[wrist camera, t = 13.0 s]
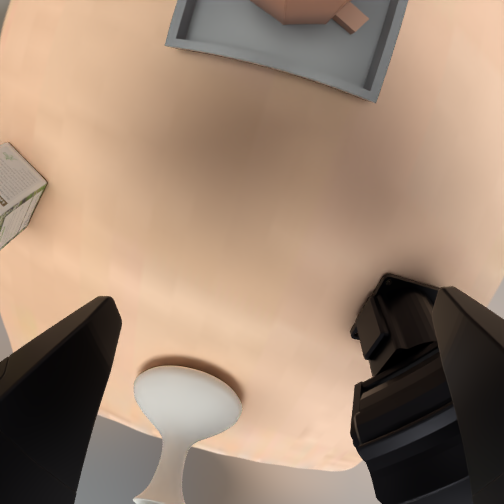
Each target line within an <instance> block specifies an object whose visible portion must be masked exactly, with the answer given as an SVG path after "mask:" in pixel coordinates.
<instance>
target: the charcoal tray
mask: <svg viewBox="0 0 504 504" xmlns="http://www.w3.org/2000/svg"><path fill="white" fill-rule="evenodd" d="M350 2H351V3H352V4H353V5H354V6H356V7H357V8H358V9H359V10H360V11H361V12H362V13H363V14H364V15H366V16H367V17H368V18H369V20H368V21H367V22H365V23H364V24H363V25H362V26H361V27H360V28H359V29H358V30H357V31H356V32H354V33H353V34H351V35H350V34H349V33H348V32H347V31H346V30H345V29H344V28H342V27H341V26H340V25H339V24H338V23H337V22H336V21H334V20H333V19H332V18H331V19H330V20H329V22H328V23H327V24H287V25H282V23H280V22H279V21H278V20H276V19H275V18H274V17H272V16H271V15H270V14H268V13H267V12H266V11H264V10H263V9H261V8H260V7H259V6H257V5H256V4H254V3H253V2H251V1H250V0H178V1H177V4H176V7H175V11H174V14H173V17H172V21H171V24H170V28H169V32H168V35H167V39H166V43H165V46H168V47H172V48H176V49H182V50H189V51H195V52H200V53H206V54H211V55H216V56H221V57H226V58H231V59H235V60H240V61H244V62H248V63H252V64H256V65H260V66H264V67H268V68H271V69H275V70H279V71H282V72H286V73H289V74H292V75H296V76H299V77H302V78H305V79H308V80H312V81H315V82H318V83H321V84H323V85H326V86H329V87H332V88H335V89H338V90H340V91H343V92H346V93H348V94H351V95H354V96H356V97H359V98H361V99H364V100H367V101H370V102H374V103H376V102H377V99H378V96H379V93H380V90H381V87H382V84H383V81H384V78H385V75H386V72H387V69H388V66H389V63H390V59H391V56H392V53H393V50H394V47H395V44H396V40H397V37H398V34H399V30H400V27H401V24H402V20H403V17H404V13H405V10H406V6H407V3H408V0H352V1H350Z"/></svg>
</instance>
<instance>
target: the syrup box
mask: <svg viewBox="0 0 504 504" xmlns="http://www.w3.org/2000/svg"><path fill="white" fill-rule="evenodd" d="M46 184H47V182H46V181H45V179H44V178H43V177H42V176H41V175H40V174H39V173H38V172H37V171H36V170H35V169H34V168H33V167H32V166H31V165H30V164H29V163H28V162H27V161H26V160H25V159H24V158H23V157H22V156H21V155H20V154H19V153H18V152H17V151H16V150H15V148H14V147H13V146H12V145H10V143H4V144H2V145H0V250H1V249H2V248H4V247H5V246H6V245H7V244H8V243H9V242H10V241H11V240H12V239H14V238H15V237H16V236H17V235H18V234H19V233H21V232H22V231H23V230H24V229H25V228H26V227H27V225H28V223H29V221H30V218H31V216H32V214H33V212H34V209H35V207H36V205H37V203H38V201H39V199H40V197H41V195H42V193H43V191H44V189H45V187H46Z"/></svg>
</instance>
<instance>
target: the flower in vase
mask: <svg viewBox="0 0 504 504" xmlns="http://www.w3.org/2000/svg"><path fill="white" fill-rule="evenodd" d="M134 396H135V399H136V401H137V403H138V405H139V407H140V409H141V410H142V412H143V413H144V414H145V415H146V417H147V418H148V419H149V420H150V421H151V423H152V424H153V425H154V426H155V427H156V428H157V430H158V431H159V432H160V434H161V436H162V440H163V449H162V454H161V458H160V461H159V464H158V467H157V470H156V472H155V475H154V477H153V479H152V481H151V482H150V484H149V486H148V487H147V488H146V489H145V490H144V491H143V492H142V493H141V494H139V495H138V496H136V497H135V498H133V501H134V502H135V503H137V504H185V501H184V498H183V493H182V475H183V468H184V462H185V459H186V455H187V453H188V450H189V448H190V447H191V446H192V445H193V444H194V443H196V442H198V441H201V440H203V439H206V438H209V437H212V436H214V435H217V434H219V433H222V432H224V431H225V430H227V429H229V428H230V427H232V426H233V425H234V424H235V423H236V422H237V420H238V419H239V417H240V415H241V413H242V404H241V402H240V399H239V398H238V396H237V395H236V393H235V392H234V391H233V390H232V389H231V388H230V387H229V386H228V385H227V384H226V383H224V382H223V381H221V380H220V379H218V378H216V377H214V376H212V375H210V374H208V373H205V372H202V371H199V370H196V369H192V368H188V367H182V366H158V367H154V368H151V369H148V370H147V371H145V372H143V373H141V374H140V375H139V376H138V377H137V378H136V379H135V382H134Z"/></svg>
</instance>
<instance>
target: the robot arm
mask: <svg viewBox="0 0 504 504" xmlns="http://www.w3.org/2000/svg"><path fill="white" fill-rule="evenodd" d="M387 280H390V281H389V282H386V281H387ZM121 327H122V320H121V316H120V314H119V312H118V309H117V307H116V304H115V301H114V299H113V298H112V297H110V296H98V297H97V298H95V299H93V300H92V301H90V302H89V303H87V304H86V305H84V306H83V307H81V308H79V309H78V310H76V311H75V312H73V313H72V314H70V315H69V316H67V317H66V318H64V319H63V320H61V321H60V322H58V323H57V324H55V325H54V326H52V327H51V328H49V329H48V330H46V331H45V332H43V333H42V334H40V335H39V336H37V337H36V338H34V339H33V340H31V341H30V342H28V343H27V344H26V345H24V346H23V347H21V348H20V349H18V350H17V351H15V352H14V353H13V354H11V355H10V356H9V357H7V358H5V359H4V360H3V361H1V362H0V504H74V502H75V497H76V491H77V488H78V484H79V479H80V475H81V471H82V467H83V463H84V459H85V456H86V452H87V448H88V444H89V441H90V437H91V433H92V430H93V427H94V423H95V420H96V416H97V413H98V410H99V407H100V403H101V400H102V397H103V394H104V391H105V388H106V385H107V381H108V378H109V375H110V372H111V368H112V365H113V360H114V356H115V352H116V347H117V343H118V339H119V335H120V331H121ZM350 333H351V337H352V338H353V339H357V340H360V343H361V347H362V351H363V356H364V358H365V360H369V363H370V368H371V372H372V378H370V379H368V380H366V381H364V382H360V383H358V384H356V385H355V388H354V399H353V410H352V419H351V430H350V435H351V437H352V439H353V445H354V446H355V447H356V449H357V452H358V453H359V455H360V456H361V458H362V459H363V460H364V461H365V462H366V464H367V467H368V469H369V472H370V474H371V478H372V482H373V486H374V490H375V494H376V498H377V499H378V500H379V501H380V502H381V503H382V504H504V319H502V318H501V317H499V316H498V315H496V314H495V313H493V312H492V311H491V310H489V309H488V308H486V307H485V306H483V305H482V304H480V303H479V302H477V301H476V300H474V299H472V298H471V297H469V296H468V295H466V294H465V293H463V292H462V291H460V290H458V289H457V288H455V287H453V286H449V287H441V288H440V289H439V288H436V287H432V286H429V285H426V284H422V283H419V282H416V281H412V280H409V279H406V278H402V277H399V276H396V275H392V274H386V275H384V276H383V277H382V279H381V280H380V282H379V284H378V286H377V288H376V289H375V291H374V293H373V294H372V296H371V297H370V298H369V299H368V300H367V302H366V304H365V305H364V307H363V309H362V311H361V312H360V314H359V316H358V317H357V319H356V323H355V325H354V326H353V328H352V329H351V331H350ZM355 333H357V334H355Z"/></svg>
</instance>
